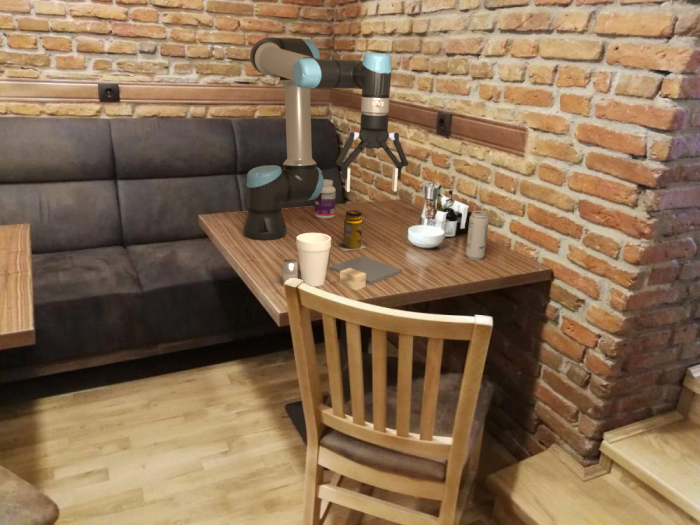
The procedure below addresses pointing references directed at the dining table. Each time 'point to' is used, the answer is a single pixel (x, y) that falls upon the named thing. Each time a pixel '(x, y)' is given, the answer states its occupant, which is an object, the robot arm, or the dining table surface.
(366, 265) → the slate board
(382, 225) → the dining table surface
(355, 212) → the condiment
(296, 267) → the metal shaker
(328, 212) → the pill bottle
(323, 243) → the foam cup
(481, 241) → the energy drink can
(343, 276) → the beech block
